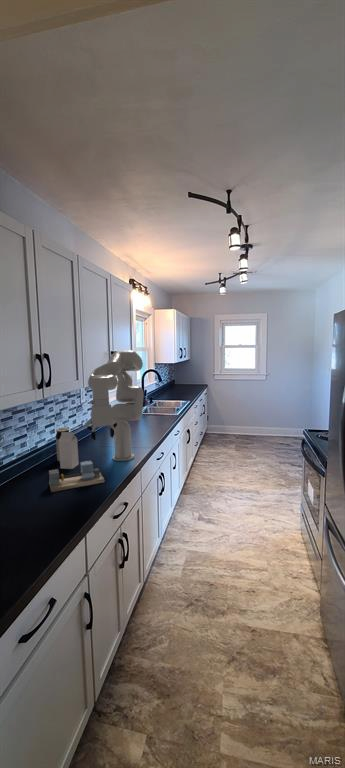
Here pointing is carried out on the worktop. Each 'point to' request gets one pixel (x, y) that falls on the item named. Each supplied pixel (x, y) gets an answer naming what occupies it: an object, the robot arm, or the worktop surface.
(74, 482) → the slider mechanism
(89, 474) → the sleeve
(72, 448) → the milk carton
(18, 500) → the worktop surface
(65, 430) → the travel mug
